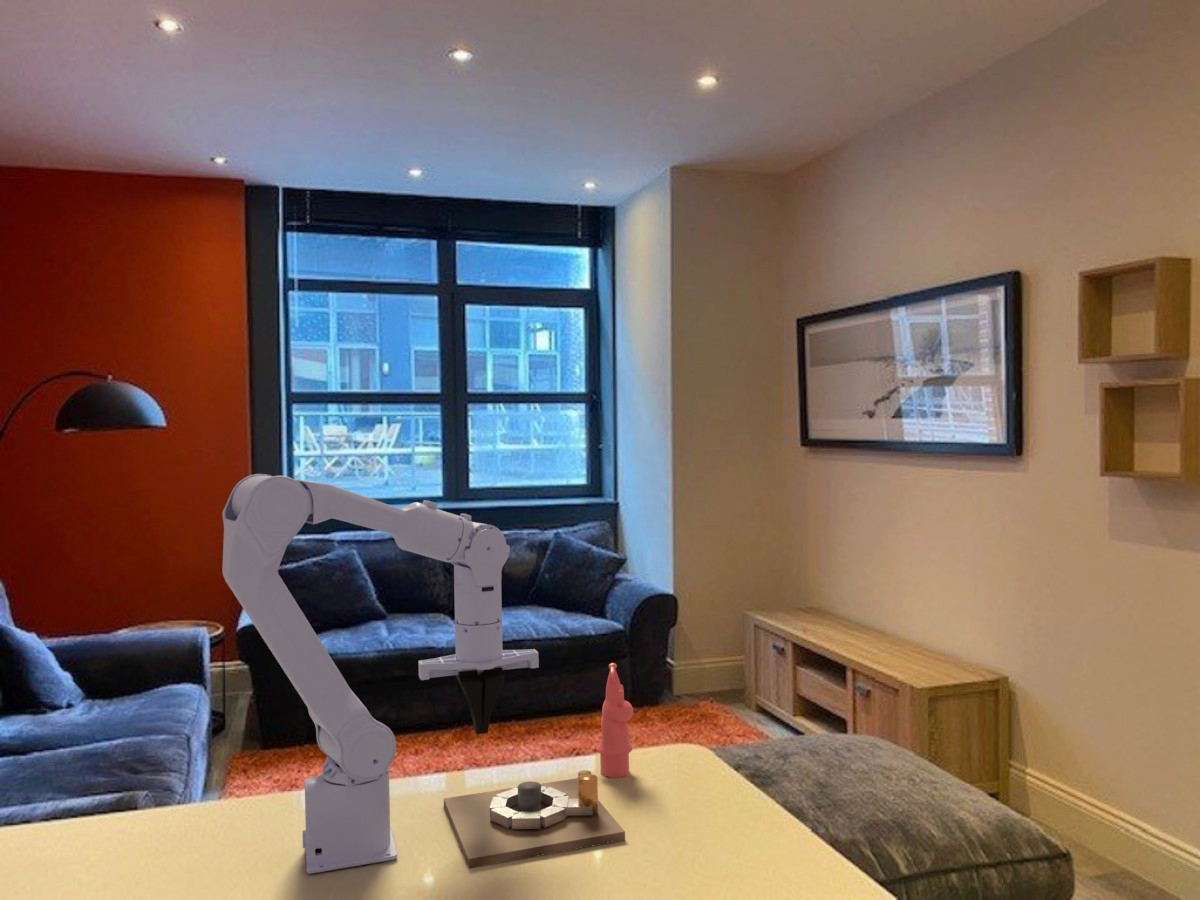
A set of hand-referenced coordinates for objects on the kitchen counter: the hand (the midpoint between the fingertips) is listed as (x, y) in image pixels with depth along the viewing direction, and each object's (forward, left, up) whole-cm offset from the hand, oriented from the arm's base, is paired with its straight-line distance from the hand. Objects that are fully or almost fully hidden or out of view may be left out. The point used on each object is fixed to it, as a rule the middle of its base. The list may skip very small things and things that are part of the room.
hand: (480, 731), depth 107 cm
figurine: (+20, +7, -11) cm, 24 cm away
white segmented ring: (+7, -5, -9) cm, 12 cm away
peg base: (+5, -4, -10) cm, 12 cm away
